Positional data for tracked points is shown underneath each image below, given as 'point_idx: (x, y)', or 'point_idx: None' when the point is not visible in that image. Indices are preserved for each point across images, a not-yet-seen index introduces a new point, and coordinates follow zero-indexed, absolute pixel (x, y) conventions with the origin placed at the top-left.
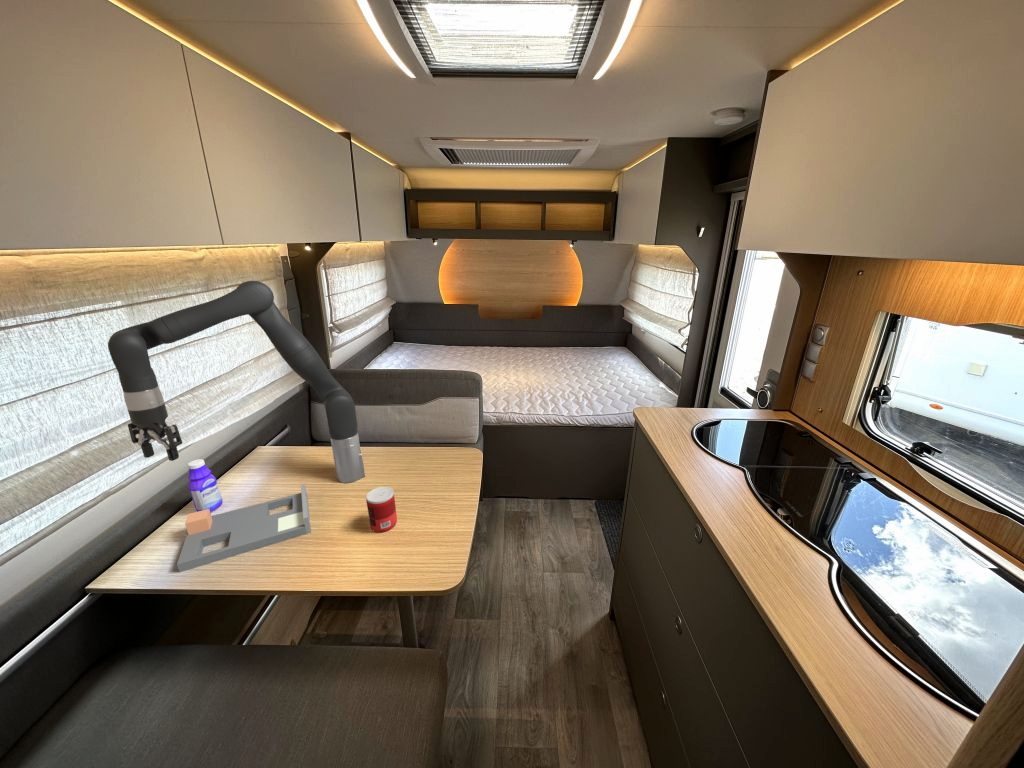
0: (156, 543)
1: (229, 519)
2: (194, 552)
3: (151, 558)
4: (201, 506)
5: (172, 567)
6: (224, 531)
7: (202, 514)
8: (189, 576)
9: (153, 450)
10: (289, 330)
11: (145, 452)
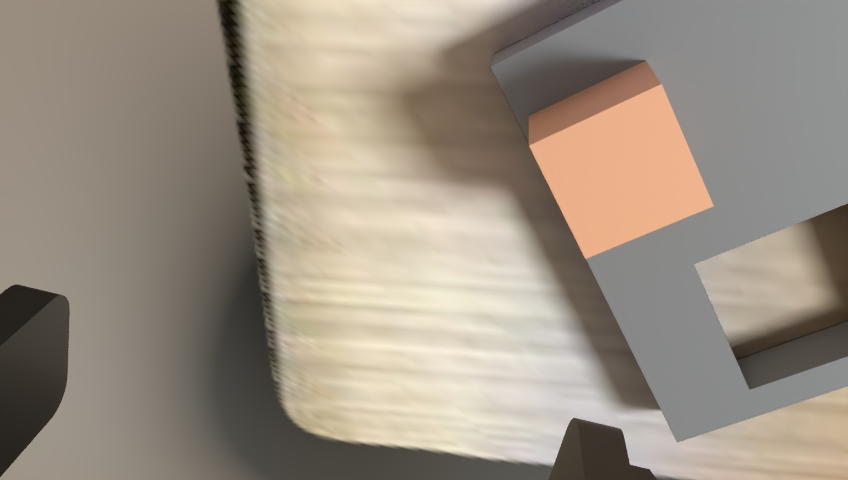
0: (362, 192)
1: (780, 60)
2: (720, 367)
3: (437, 307)
4: None
5: (605, 377)
6: (813, 197)
7: (651, 159)
8: (739, 438)
9: (21, 330)
10: None
11: (2, 464)
